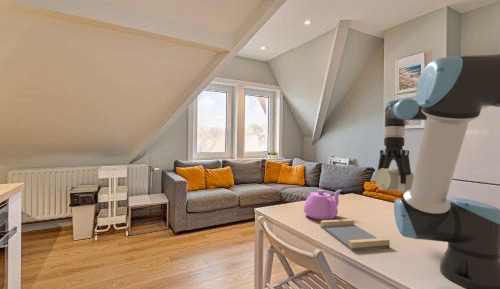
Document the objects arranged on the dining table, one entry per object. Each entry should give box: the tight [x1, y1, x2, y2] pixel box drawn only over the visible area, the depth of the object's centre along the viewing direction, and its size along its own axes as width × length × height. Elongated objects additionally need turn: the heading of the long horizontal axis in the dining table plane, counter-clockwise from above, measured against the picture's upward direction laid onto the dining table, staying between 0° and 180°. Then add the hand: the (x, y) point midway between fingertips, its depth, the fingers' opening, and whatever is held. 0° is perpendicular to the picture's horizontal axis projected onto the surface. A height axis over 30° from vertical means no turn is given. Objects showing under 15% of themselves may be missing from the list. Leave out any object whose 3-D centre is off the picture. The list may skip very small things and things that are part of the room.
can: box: [374, 168, 414, 192], centre depth 106 cm, size 9×9×12 cm
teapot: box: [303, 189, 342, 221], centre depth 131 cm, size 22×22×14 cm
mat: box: [320, 218, 390, 252], centre depth 105 cm, size 24×16×3 cm, turn 11°
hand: (392, 189), depth 106 cm, fingers closed on can, 9 cm apart
